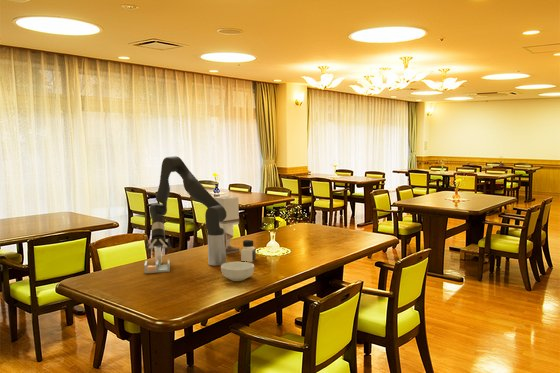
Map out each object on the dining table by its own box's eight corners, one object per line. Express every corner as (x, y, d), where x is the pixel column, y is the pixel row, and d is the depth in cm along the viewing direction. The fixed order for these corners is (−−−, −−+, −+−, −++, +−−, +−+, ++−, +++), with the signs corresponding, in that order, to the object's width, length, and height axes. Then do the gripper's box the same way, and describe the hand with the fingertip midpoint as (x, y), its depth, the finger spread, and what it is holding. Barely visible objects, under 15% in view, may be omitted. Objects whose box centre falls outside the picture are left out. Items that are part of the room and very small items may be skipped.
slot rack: (145, 267, 252) (145, 260, 252) (169, 266, 255) (169, 259, 255) (144, 273, 242) (144, 265, 241) (169, 271, 245) (169, 263, 244)
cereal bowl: (240, 285, 219) (240, 271, 218) (214, 280, 228) (214, 266, 227) (260, 277, 233) (260, 263, 233) (235, 272, 242) (234, 259, 241)
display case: (224, 254, 282) (223, 198, 278) (215, 251, 290) (213, 197, 286) (239, 251, 289) (238, 197, 286) (229, 248, 297) (228, 195, 294)
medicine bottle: (252, 262, 263) (252, 241, 262) (240, 261, 264) (240, 241, 263) (255, 259, 270) (255, 239, 269) (244, 258, 271) (244, 238, 270)
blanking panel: (155, 262, 264) (154, 245, 263) (161, 262, 264) (161, 245, 264) (155, 265, 258) (154, 248, 257) (161, 264, 259) (160, 247, 258)
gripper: (145, 228, 266) (144, 252, 256) (170, 227, 269) (170, 250, 259) (146, 235, 272) (145, 259, 262) (170, 234, 275) (171, 257, 265)
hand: (158, 254), depth 260 cm, fingers open, 8 cm apart
